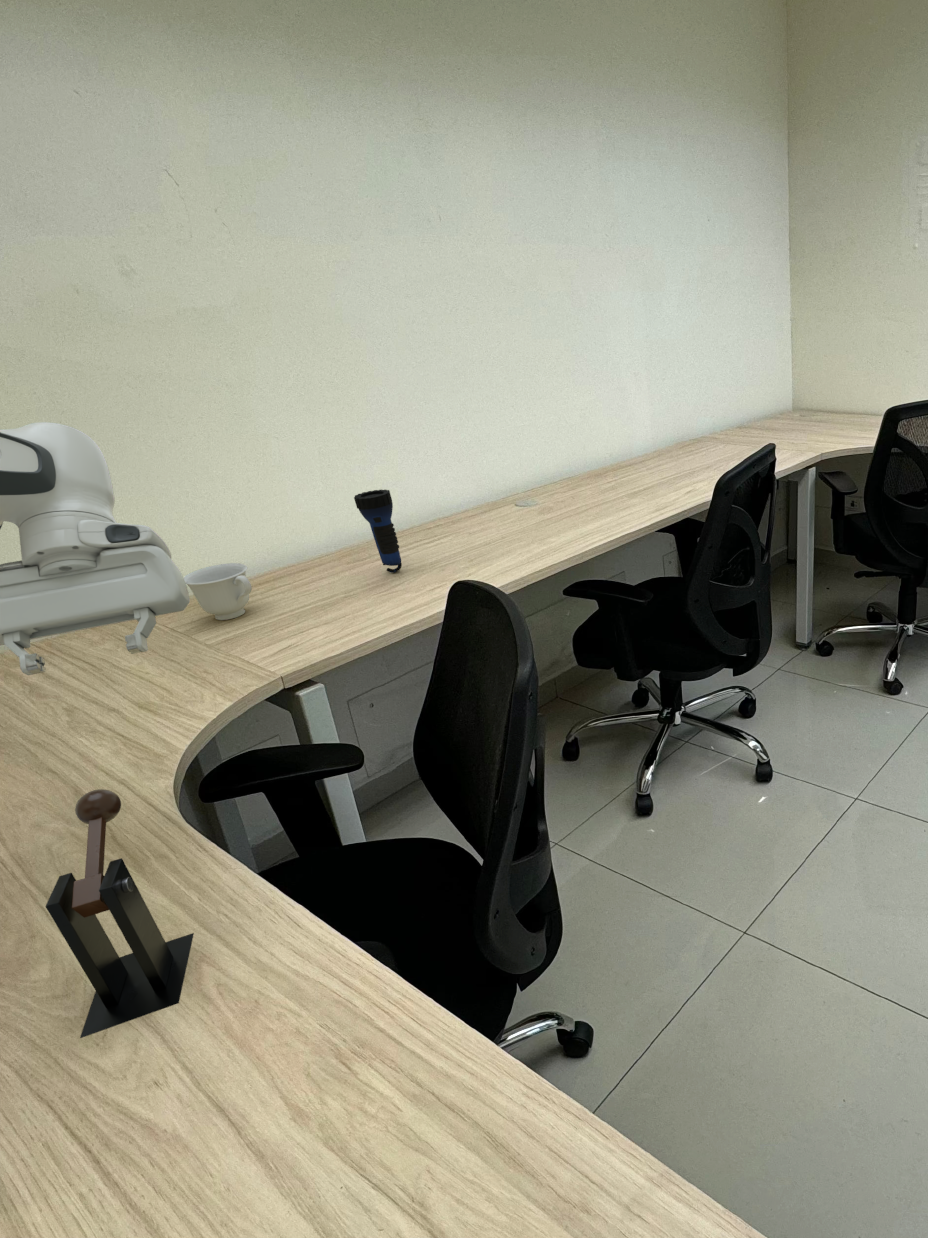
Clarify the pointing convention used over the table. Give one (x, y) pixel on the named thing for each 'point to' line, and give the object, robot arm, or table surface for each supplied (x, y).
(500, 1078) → the table surface
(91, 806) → the lever
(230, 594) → the teacup
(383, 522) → the flashlight
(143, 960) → the bracket
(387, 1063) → the table surface
